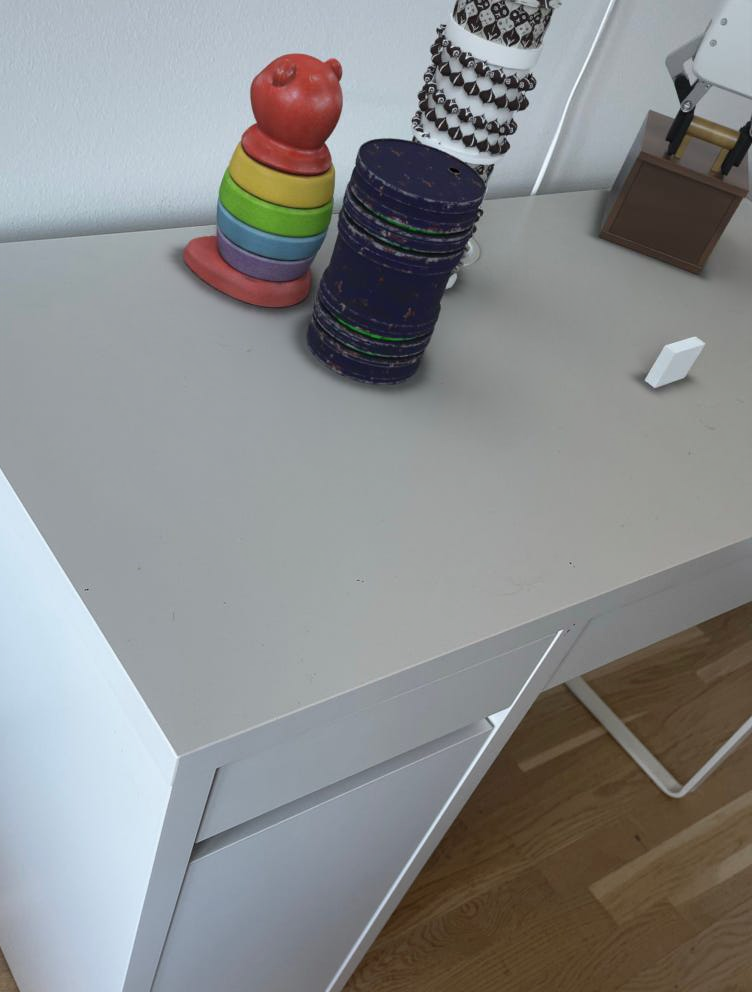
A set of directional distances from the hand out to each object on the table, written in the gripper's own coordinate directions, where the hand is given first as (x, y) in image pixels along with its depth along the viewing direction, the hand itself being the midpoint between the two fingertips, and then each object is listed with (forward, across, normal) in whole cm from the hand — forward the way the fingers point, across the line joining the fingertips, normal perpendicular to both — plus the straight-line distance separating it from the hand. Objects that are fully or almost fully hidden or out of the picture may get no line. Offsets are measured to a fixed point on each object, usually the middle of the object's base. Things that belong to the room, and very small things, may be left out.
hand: (698, 158), depth 102 cm
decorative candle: (+10, +22, +24) cm, 34 cm away
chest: (+10, 0, -6) cm, 12 cm away
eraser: (+10, -3, +27) cm, 29 cm away
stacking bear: (+10, +34, +37) cm, 51 cm away
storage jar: (+10, +22, +42) cm, 49 cm away
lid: (+1, 0, -5) cm, 5 cm away
